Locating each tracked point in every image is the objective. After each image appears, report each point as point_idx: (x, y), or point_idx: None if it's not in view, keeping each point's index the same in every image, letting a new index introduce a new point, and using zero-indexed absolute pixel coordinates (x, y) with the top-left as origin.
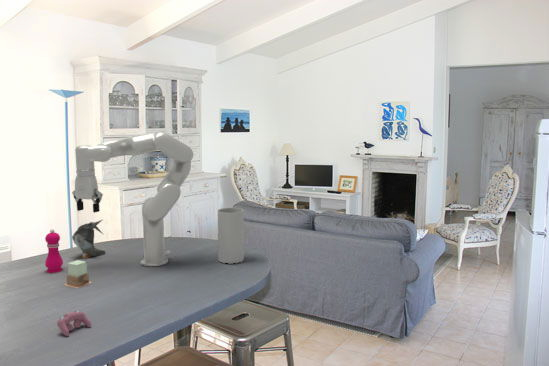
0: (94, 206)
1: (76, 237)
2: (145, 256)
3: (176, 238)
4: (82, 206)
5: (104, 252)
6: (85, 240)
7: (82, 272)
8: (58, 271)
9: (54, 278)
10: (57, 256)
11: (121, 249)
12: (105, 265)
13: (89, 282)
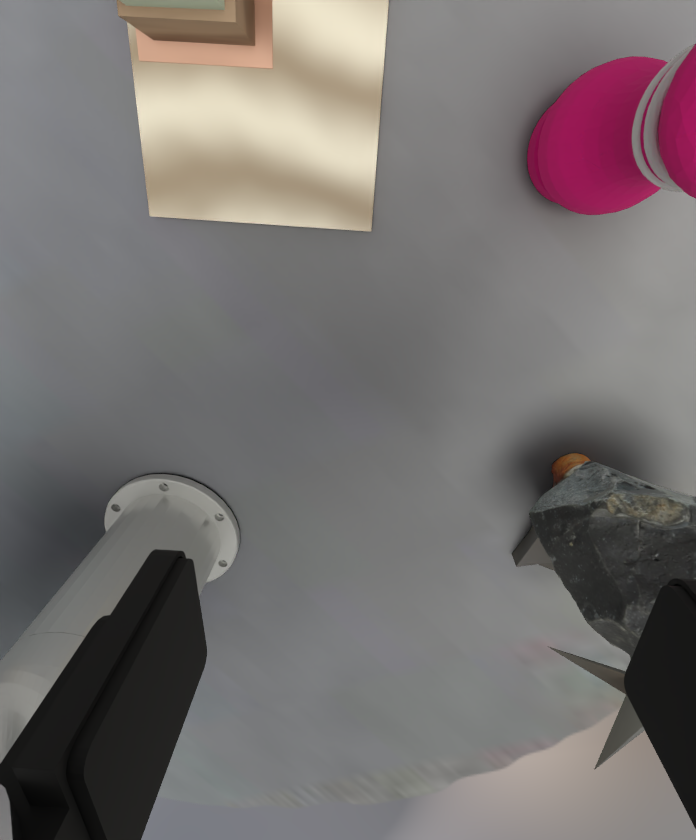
0: (81, 686)
1: (669, 495)
2: (166, 518)
3: (357, 790)
4: (668, 740)
5: (515, 557)
6: (582, 504)
7: None
8: (535, 136)
9: (492, 39)
10: (588, 129)
11: (481, 630)
12: (369, 408)
13: (151, 44)
